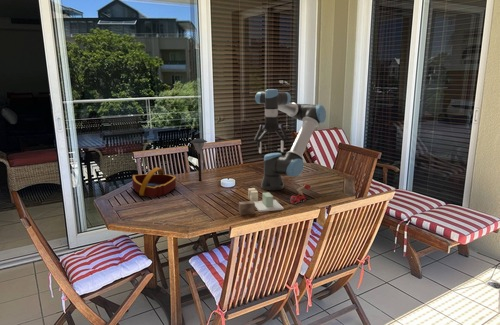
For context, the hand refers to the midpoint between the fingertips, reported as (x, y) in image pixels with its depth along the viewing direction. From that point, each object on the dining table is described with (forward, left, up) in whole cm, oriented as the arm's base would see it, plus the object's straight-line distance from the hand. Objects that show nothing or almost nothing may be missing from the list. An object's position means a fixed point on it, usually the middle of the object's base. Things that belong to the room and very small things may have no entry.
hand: (271, 152), depth 218 cm
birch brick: (-1, -11, -29) cm, 31 cm away
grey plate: (+13, -6, -29) cm, 32 cm away
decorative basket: (-38, -69, -29) cm, 84 cm away
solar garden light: (-52, -37, -29) cm, 70 cm away
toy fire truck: (+10, +15, -29) cm, 34 cm away
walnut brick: (+20, -20, -29) cm, 40 cm away
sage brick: (+13, -6, -28) cm, 31 cm away
